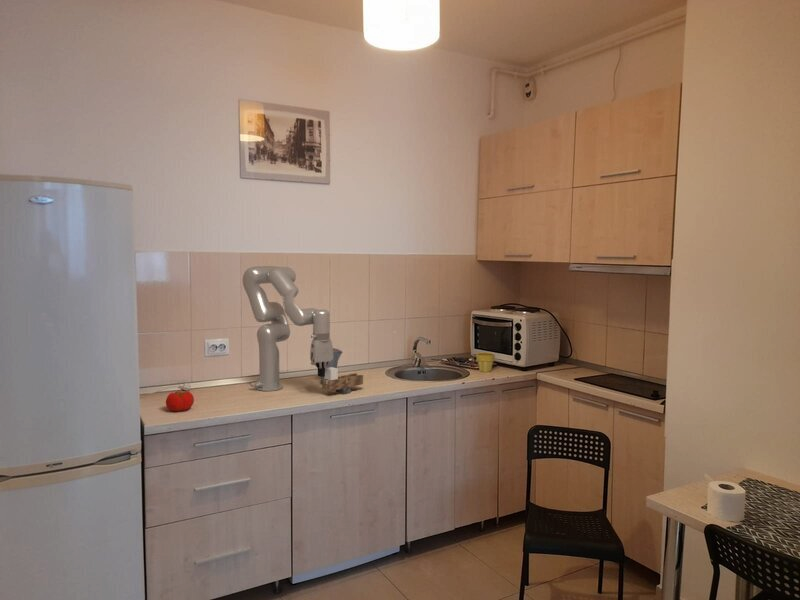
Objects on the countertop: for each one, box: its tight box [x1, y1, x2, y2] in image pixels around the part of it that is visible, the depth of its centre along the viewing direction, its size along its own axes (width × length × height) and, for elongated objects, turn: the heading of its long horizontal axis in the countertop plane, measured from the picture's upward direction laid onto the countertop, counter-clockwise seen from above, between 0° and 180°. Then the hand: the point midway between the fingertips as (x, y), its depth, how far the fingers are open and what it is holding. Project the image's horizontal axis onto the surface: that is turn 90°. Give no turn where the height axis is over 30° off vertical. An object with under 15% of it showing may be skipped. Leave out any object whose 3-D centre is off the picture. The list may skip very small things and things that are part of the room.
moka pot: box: [320, 344, 343, 384], centre depth 278 cm, size 10×15×20 cm, turn 78°
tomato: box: [165, 390, 195, 413], centre depth 229 cm, size 11×11×8 cm
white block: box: [324, 367, 339, 384], centre depth 255 cm, size 4×5×7 cm
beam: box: [321, 372, 364, 395], centre depth 260 cm, size 20×6×7 cm, turn 134°
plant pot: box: [476, 352, 496, 373], centre depth 313 cm, size 10×10×10 cm
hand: (321, 376), depth 251 cm, fingers closed
